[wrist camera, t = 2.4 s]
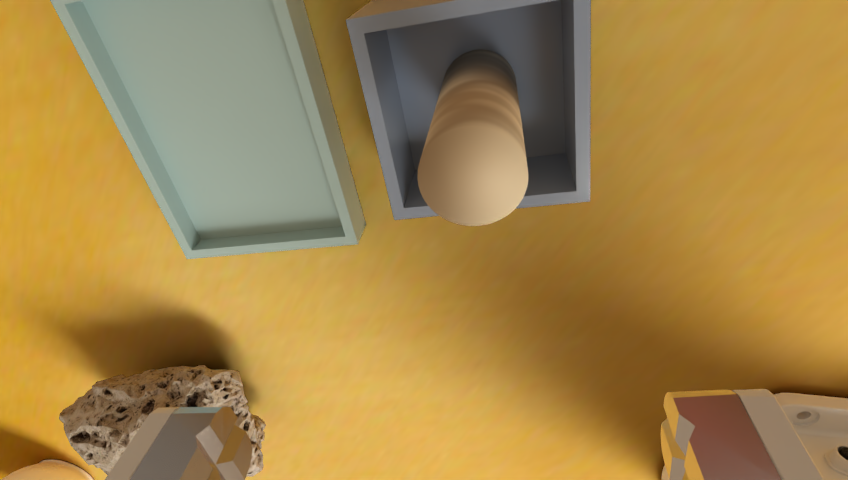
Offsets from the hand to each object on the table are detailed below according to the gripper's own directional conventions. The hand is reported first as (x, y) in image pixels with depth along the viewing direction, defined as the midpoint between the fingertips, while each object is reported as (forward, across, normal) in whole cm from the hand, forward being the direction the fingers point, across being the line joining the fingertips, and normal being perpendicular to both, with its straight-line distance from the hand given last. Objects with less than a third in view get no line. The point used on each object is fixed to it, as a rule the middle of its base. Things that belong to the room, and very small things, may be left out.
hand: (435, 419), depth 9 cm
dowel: (+19, -1, -1) cm, 19 cm away
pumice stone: (+20, +25, +20) cm, 38 cm away
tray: (+20, +13, -1) cm, 24 cm away
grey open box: (+20, -1, -1) cm, 20 cm away
